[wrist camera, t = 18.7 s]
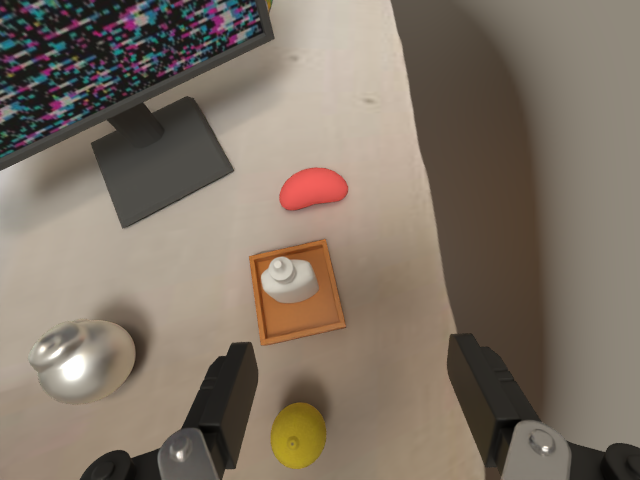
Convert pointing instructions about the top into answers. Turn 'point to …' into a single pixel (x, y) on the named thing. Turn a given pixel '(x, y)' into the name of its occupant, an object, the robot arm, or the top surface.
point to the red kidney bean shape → (312, 188)
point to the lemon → (298, 435)
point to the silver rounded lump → (83, 360)
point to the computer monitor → (121, 87)
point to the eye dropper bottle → (289, 280)
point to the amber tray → (302, 316)
